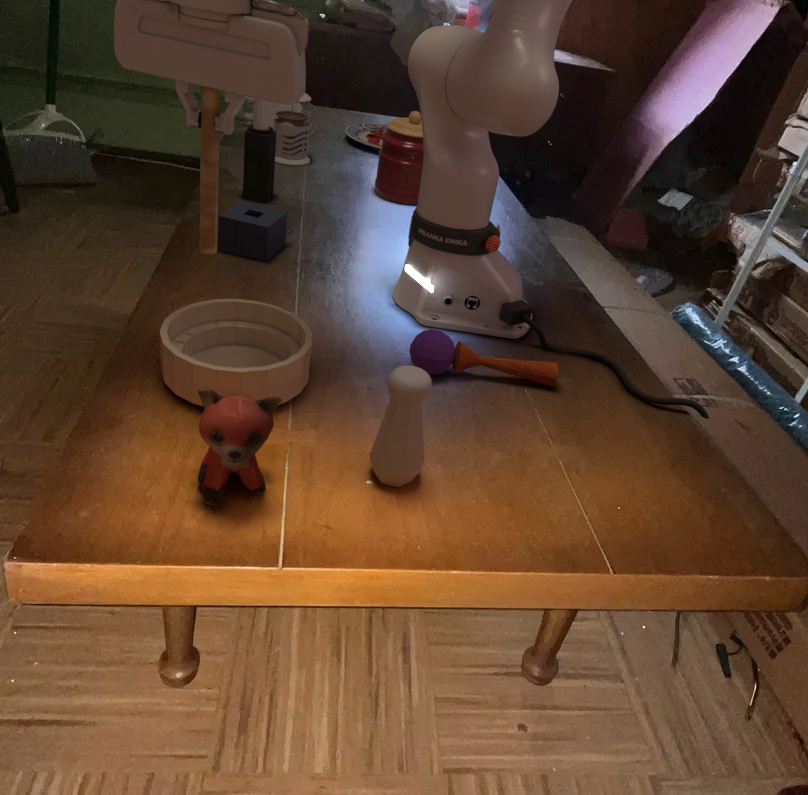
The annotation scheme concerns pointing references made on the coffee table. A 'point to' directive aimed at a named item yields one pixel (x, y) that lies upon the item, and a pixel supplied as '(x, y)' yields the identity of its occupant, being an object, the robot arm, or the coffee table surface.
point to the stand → (252, 230)
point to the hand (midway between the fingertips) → (209, 129)
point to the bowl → (235, 350)
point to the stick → (209, 170)
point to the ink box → (282, 107)
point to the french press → (285, 150)
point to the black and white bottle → (259, 155)
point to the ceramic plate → (367, 134)
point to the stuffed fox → (233, 440)
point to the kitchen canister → (401, 160)
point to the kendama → (472, 359)
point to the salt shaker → (402, 428)
